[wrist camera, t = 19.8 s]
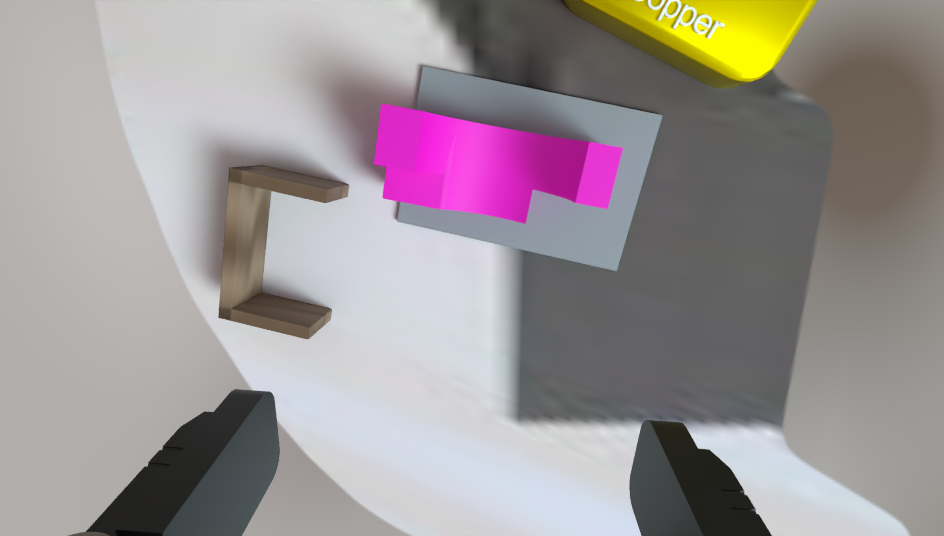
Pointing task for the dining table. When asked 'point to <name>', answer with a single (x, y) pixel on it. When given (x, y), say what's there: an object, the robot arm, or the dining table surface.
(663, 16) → the element tile
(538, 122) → the slate mat
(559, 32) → the dining table surface
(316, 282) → the dining table surface
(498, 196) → the toy block
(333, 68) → the dining table surface
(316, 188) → the walnut bracket
